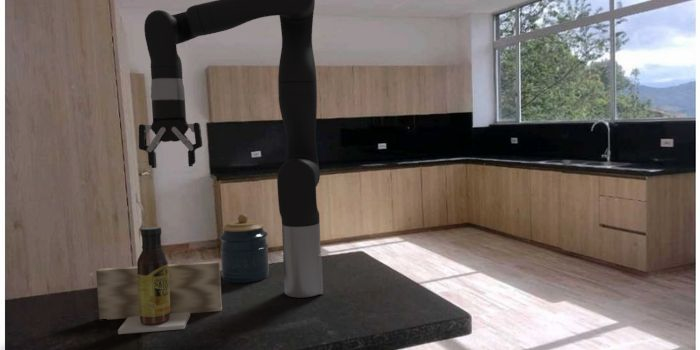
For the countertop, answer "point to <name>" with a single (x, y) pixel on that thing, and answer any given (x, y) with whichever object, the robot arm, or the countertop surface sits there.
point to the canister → (244, 251)
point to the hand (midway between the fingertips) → (172, 167)
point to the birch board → (184, 283)
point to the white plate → (172, 323)
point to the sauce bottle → (153, 279)
